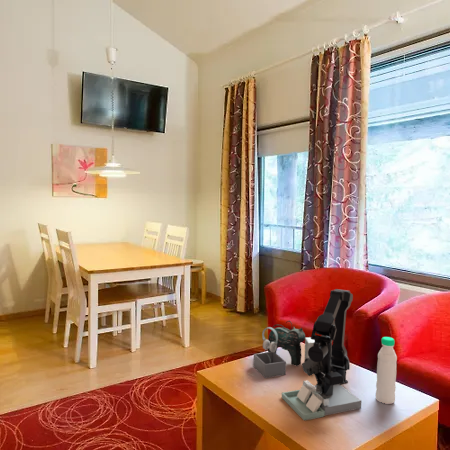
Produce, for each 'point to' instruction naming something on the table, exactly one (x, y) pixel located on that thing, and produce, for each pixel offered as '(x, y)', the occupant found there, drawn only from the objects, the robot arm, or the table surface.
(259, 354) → the gray open box
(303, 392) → the tile
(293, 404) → the bin
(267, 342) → the headphones
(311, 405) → the tile
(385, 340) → the water bottle
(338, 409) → the board
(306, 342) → the supplement box
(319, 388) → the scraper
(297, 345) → the power drill
